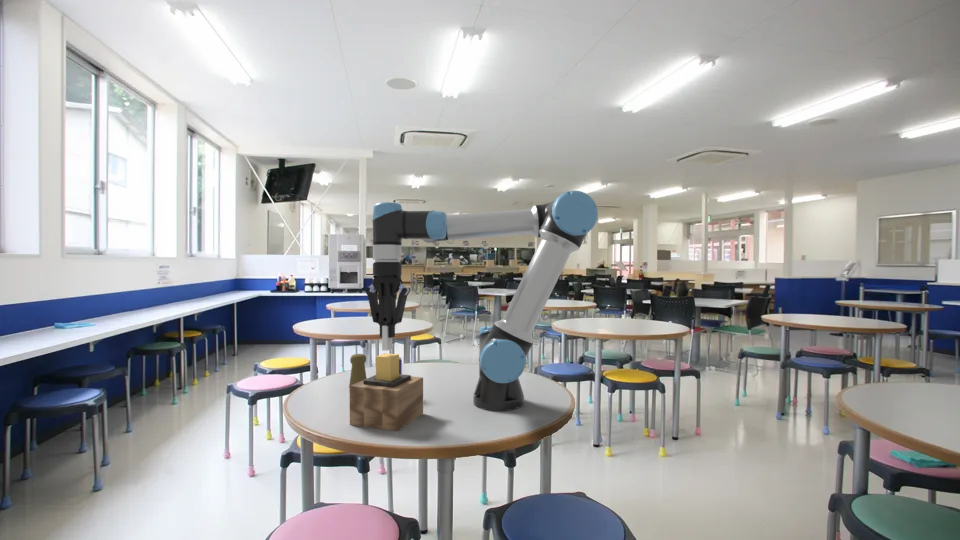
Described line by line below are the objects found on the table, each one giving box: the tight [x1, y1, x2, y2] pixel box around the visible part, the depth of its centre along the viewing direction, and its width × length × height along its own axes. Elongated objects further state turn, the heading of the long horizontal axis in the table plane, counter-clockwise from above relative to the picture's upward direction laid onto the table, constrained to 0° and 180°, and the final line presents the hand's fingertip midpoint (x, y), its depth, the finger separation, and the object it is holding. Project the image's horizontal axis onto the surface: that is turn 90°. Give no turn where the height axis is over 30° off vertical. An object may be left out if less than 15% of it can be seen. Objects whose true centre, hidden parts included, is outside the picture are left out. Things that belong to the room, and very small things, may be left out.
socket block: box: [349, 373, 424, 432], centre depth 118 cm, size 14×14×11 cm
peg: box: [375, 353, 400, 381], centre depth 118 cm, size 4×4×9 cm
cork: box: [348, 353, 368, 389], centre depth 149 cm, size 6×6×11 cm
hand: (387, 349), depth 118 cm, fingers closed
